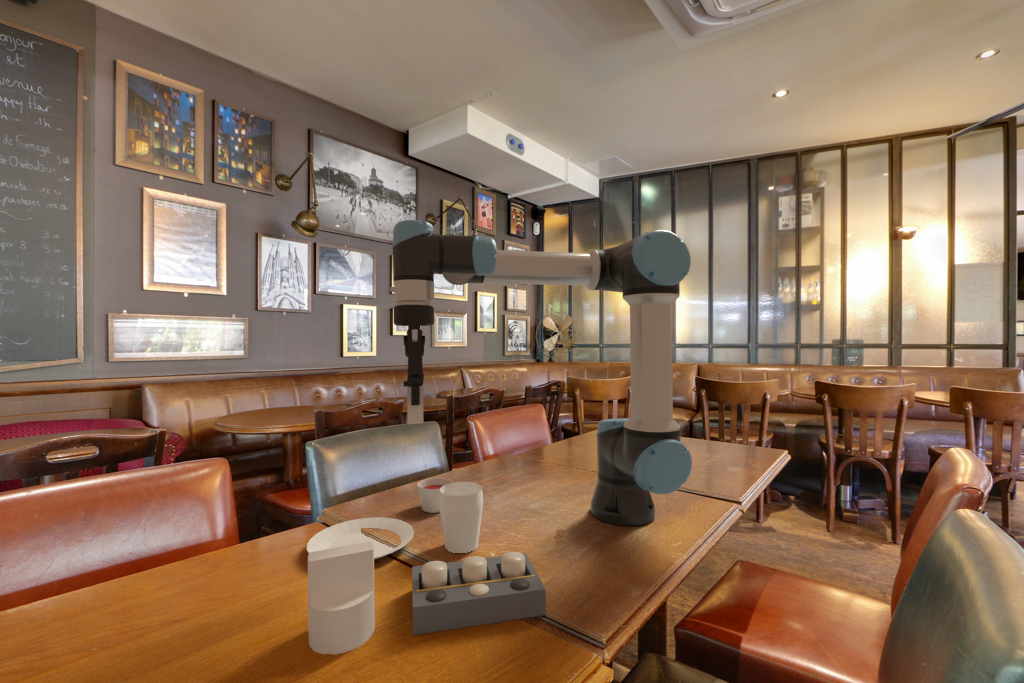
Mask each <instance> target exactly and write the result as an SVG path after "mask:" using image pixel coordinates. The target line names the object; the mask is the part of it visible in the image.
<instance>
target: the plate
mask: <svg viewBox="0 0 1024 683" xmlns="http://www.w3.org/2000/svg"><path fill="white" fill-rule="evenodd" d="M361 528H379V529H387V530H391V531H393V532H395V533H397V534H398V535H399V536H400V539H401V544H400V545H399V546H398V547H396V548H392V547H389V546H387V545H385V544H382V543H380V542H378V541H376V540H374V539H372V538H370V537H367V536H365V535H364V534H362V533H361ZM414 532H415V531H414V528H413V527H412V525H410V524H409V523H408V522H405V521H403V520H400V519H397V518H393V517H381V516H380V517H378V516H377V517H363V518H356V519H355V518H354V519H351V520H346V521H343V522H339V523H336V524H334V525H331V526H329V527H326V528H324V529H322V530H321V531H319V532H317V533H315V535H313V536H312V537H311V538H310V539H309V540H308V542H307V543H306V551H307V554H309V553H310V552H314V551H320V550H326V549H331V548H337V547H342V546H348V545H353V544H359V543H364V542H370V541H371V542H372V543H373V545H374V561H376V560H379V559H381V558H384V557H386V556H388V555H390V554H393V553H395V552H396V551H398V550H401V549H403V547H405V546H406V545H408V544H409V543H410V542H411V540H412V539H413V537H414Z"/></svg>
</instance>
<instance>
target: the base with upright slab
mask: <svg viewBox="0 0 1024 683" xmlns="http://www.w3.org/2000/svg"><path fill="white" fill-rule="evenodd" d="M307 602H308V603H307V608H308V610H307V611H308V613H307V614H308V618H307V619H308V624H307V626H308V645H309V647H310V649H311V648H312V649H311V650H312V651H314V652H316V653H317V652H318V653H317V654H320V655H321V654H322V655H325V654H333V655H339V653H340V654H344V653H348V652H350V651H353V650H355V649H357V648H359V647H361V646H362V645H364V644H365V643H366V642H368V641H369V639H370V638H371V637H372V636H373V635H374V634H373V633H374V632H375V630H376V629H375V560H374V545H373V543H372V542H371V541H370V542H364V543H359V544H353V545H348V546H342V547H337V548H331V549H326V550H320V551H314V552H310V553H308V556H307Z"/></svg>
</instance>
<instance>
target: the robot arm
mask: <svg viewBox="0 0 1024 683" xmlns="http://www.w3.org/2000/svg"><path fill="white" fill-rule="evenodd" d="M392 232H393V234H392V235H393V236H392V273H393V274H392V276H393V278H392V280H393V285H394V286H390V288H389V291H390V292H391V293H393V302H394V303H395V304H397V305H394V307H393V324H394V325H395V326H398V327H407V331H406V335H403V345H404V355H405V356H406V358H407V372H406V374H407V379H406V380H403V387H406V394H407V397H406V399H407V401H406V402H407V405H406V406H407V410H406V411H407V416H406V417H407V425H421V424H424V379H425V374H424V373H423V370H424V369H423V357H424V356H425V345H426V335H423V332H424V331H423V330H422V327H427V326H433V325H435V324H434V323H435V307H433V306H434V305H432V304H434V303H435V278H434V276H435V275H442V277H443V278H444V279H445V281H446V282H447V283H449V284H452V285H455V286H464V285H465V284H466V285H467V284H496V285H497V284H500V285H501V284H503V285H505V284H506V285H509V284H510V285H545V286H546V285H548V286H549V285H550V286H551V285H552V286H581V287H582V286H585V287H586V289H587V290H589V291H604V292H605V291H606V292H615V293H622V299H623V301H625V302H626V303H627V304H628V306H629V341H630V342H629V350H630V351H629V354H630V355H629V357H630V359H629V362H630V363H629V364H630V365H629V366H630V367H629V368H630V372H629V373H630V375H629V376H630V379H629V380H630V417H628V418H625V417H624V418H607V419H601V420H600V421H598V424H597V431H596V432H597V433H596V436H597V437H596V438H597V439H596V440H597V441H596V442H597V443H596V444H597V448H596V449H597V482H596V485H595V488H594V491H593V495H592V498H591V501H590V513H591V515H592V516H593V517H594V518H595V519H597V520H599V521H602V522H604V523H607V524H610V525H611V524H612V525H617V526H625V527H626V526H628V527H631V526H635V527H636V526H642V525H647V524H649V523H651V522H653V521H654V520H655V518H656V508H655V507H656V506H655V504H654V500H653V497H652V494H654V495H661V496H663V495H668V494H672V493H674V492H676V491H678V490H680V488H681V487H682V486H683V485H684V484H685V483H686V482H687V481H688V479H689V477H690V475H691V473H692V470H693V469H692V468H693V457H692V455H691V454H692V453H691V452H690V450H689V449H688V448H687V446H686V445H685V444H684V443H682V440H681V439H682V436H681V434H682V433H681V429H682V428H681V425H680V424H679V423H678V422H677V421H676V420H675V419H674V417H673V416H674V415H673V413H674V411H673V410H674V409H673V408H674V405H673V404H674V403H673V401H674V400H673V396H674V395H673V394H674V393H673V392H674V391H673V388H674V387H673V386H674V384H673V304H674V302H676V301H677V300H678V299H679V298H680V294H681V292H680V285H681V282H682V281H683V280H684V279H685V277H686V276H687V275H688V273H689V272H690V268H691V263H692V261H691V260H692V258H691V253H690V249H689V248H688V246H687V244H686V243H685V241H683V240H682V238H680V237H679V235H677V234H676V233H674V232H673V231H670V230H666V229H655V230H652V231H647V232H643V233H641V234H640V235H638V236H636V237H634V238H633V239H630V240H627V241H626V242H623V243H621V244H619V245H616V246H612V247H608V248H602V249H601V248H600V249H599V248H597V249H596V248H591V249H590V250H589V251H587V252H584V253H583V252H564V251H563V252H558V251H531V250H530V251H529V250H528V251H527V250H502V249H501V250H500V249H497V243H496V240H495V239H494V238H492V237H490V236H482V235H478V234H476V235H456V234H453V235H452V234H439V233H435V231H434V226H433V224H432V223H430V222H429V221H423V220H419V219H405V220H401V221H398V222H397V223H396V224H395V225H394V226H393V231H392Z"/></svg>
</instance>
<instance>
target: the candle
mask: <svg viewBox="0 0 1024 683" xmlns="http://www.w3.org/2000/svg"><path fill="white" fill-rule="evenodd" d="M450 483H454V481H453V480H452V479H449V478H445V477H431V478H425V479H422V480H420V481H418V482H417V483H416V485H417V492H418V496H419V497H418V498H419V502H420V508H421V509H422V511H424V512H426V513H431V514H434V513H440V508H439V499H440V488H441V487H442V486H444V485H447V484H450Z"/></svg>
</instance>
